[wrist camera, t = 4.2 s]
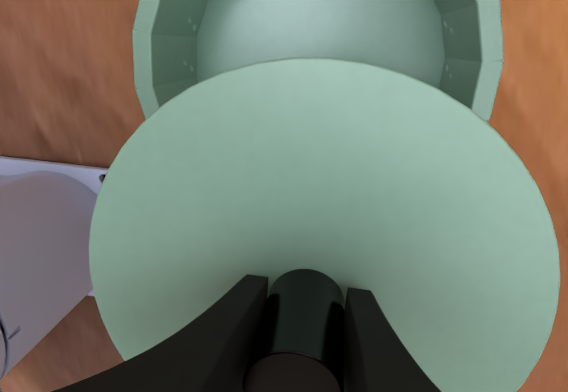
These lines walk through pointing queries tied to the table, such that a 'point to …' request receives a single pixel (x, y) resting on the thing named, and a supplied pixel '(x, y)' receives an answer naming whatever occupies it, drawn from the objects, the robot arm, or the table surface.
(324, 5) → the pot
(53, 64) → the table surface
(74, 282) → the robot arm
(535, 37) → the table surface
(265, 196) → the lid
